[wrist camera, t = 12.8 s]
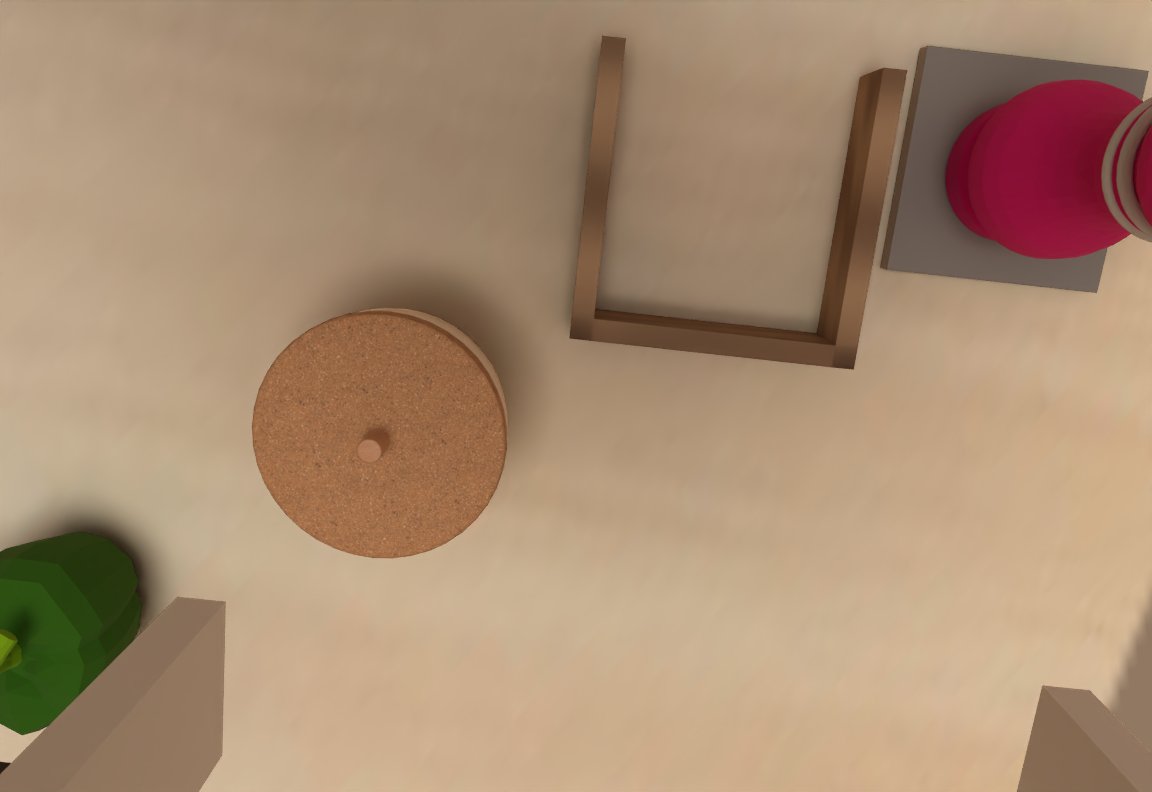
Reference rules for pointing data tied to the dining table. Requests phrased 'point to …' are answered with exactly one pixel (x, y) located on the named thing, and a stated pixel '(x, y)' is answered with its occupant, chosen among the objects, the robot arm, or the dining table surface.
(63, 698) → the bell pepper
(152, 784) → the robot arm
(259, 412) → the lidded jar
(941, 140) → the coaster
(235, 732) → the dining table surface
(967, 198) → the pepper mill
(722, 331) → the u-shaped frame
